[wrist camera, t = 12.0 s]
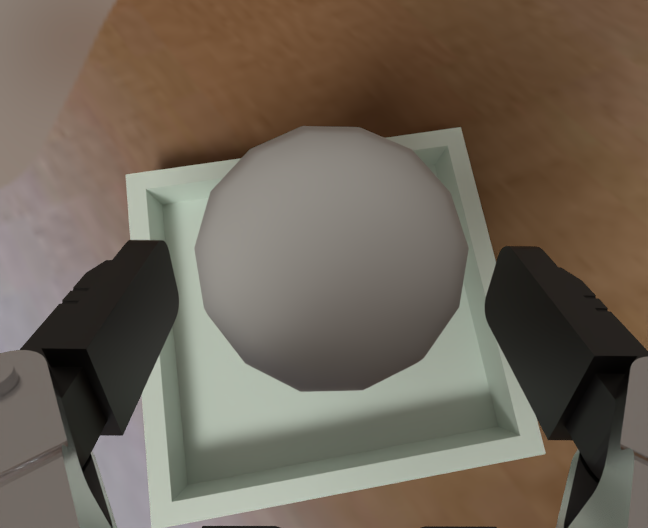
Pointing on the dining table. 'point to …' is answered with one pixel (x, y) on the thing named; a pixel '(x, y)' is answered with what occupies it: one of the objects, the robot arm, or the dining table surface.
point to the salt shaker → (331, 258)
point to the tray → (317, 406)
